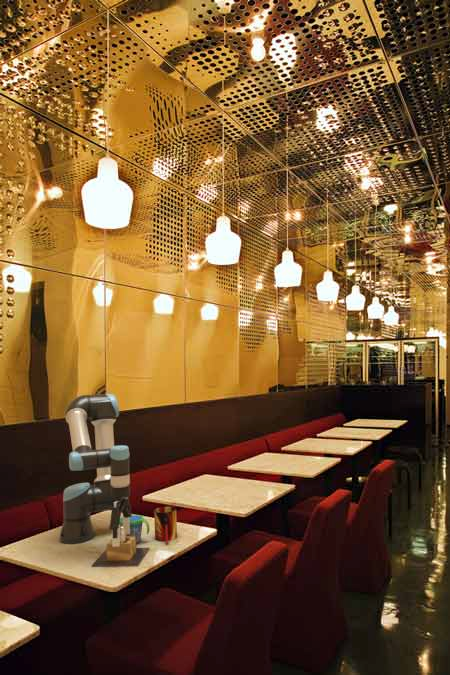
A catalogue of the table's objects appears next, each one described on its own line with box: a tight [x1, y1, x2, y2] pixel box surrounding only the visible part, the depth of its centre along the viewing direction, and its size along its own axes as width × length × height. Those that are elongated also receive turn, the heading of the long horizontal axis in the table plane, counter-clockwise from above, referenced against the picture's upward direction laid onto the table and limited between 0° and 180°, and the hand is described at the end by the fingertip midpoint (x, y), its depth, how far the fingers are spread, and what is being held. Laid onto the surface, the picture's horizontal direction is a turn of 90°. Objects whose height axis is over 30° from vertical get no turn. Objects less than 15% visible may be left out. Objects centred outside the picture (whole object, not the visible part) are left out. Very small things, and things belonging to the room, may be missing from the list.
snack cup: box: [114, 514, 150, 545], centre depth 203 cm, size 16×10×10 cm
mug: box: [153, 506, 178, 543], centre depth 205 cm, size 10×14×12 cm
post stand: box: [91, 525, 151, 568], centre depth 186 cm, size 18×18×12 cm
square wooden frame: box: [106, 536, 137, 561], centre depth 186 cm, size 9×9×6 cm
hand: (121, 539), depth 186 cm, fingers open, 13 cm apart
